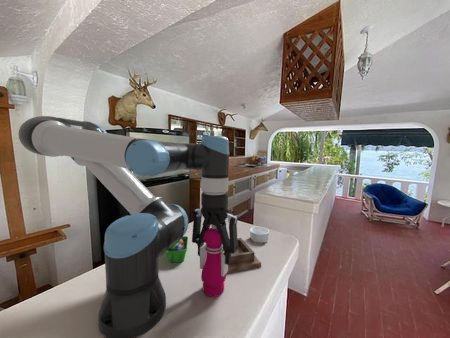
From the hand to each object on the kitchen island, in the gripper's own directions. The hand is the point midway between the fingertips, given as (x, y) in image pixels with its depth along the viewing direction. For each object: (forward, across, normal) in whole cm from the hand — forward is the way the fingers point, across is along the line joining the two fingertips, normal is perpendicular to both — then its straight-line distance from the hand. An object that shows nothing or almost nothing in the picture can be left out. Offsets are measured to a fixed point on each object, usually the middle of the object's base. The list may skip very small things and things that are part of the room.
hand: (213, 269), depth 57 cm
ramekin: (+6, -2, -39) cm, 39 cm away
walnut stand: (+6, +2, -18) cm, 19 cm away
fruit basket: (+6, +22, -9) cm, 25 cm away
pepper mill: (+6, 0, 0) cm, 6 cm away
